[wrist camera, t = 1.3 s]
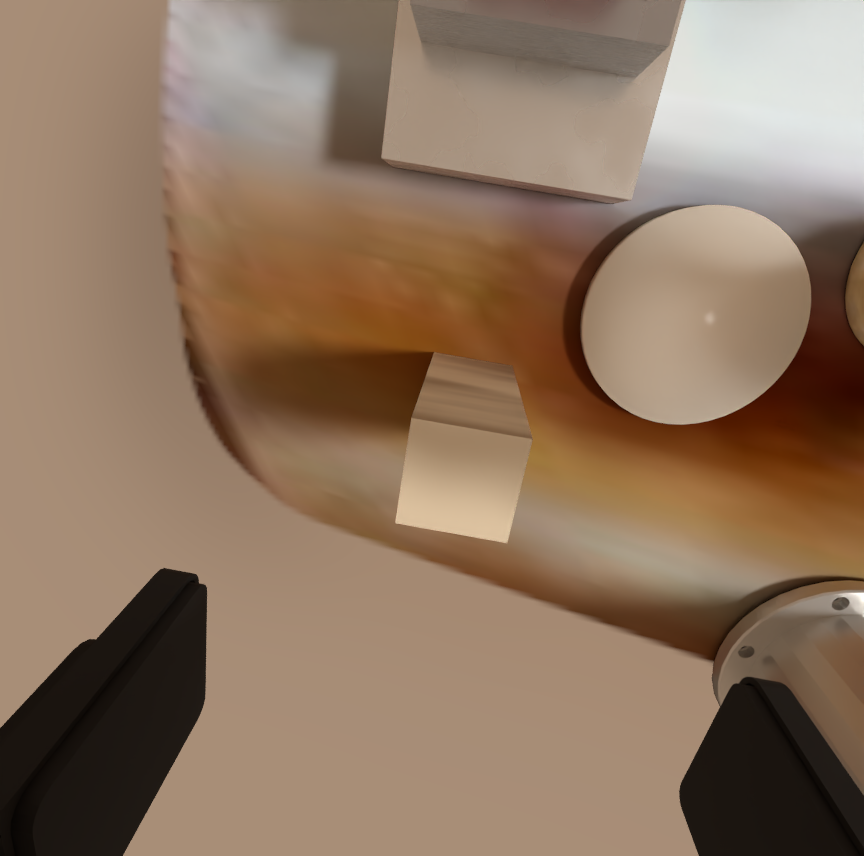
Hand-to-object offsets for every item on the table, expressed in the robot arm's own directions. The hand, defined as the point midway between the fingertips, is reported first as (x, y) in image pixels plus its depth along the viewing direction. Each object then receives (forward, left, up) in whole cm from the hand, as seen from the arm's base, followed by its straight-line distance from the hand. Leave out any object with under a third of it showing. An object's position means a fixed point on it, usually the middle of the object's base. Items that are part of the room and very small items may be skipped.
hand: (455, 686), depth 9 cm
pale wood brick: (0, 0, -19) cm, 19 cm away
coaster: (+2, -11, -19) cm, 22 cm away
